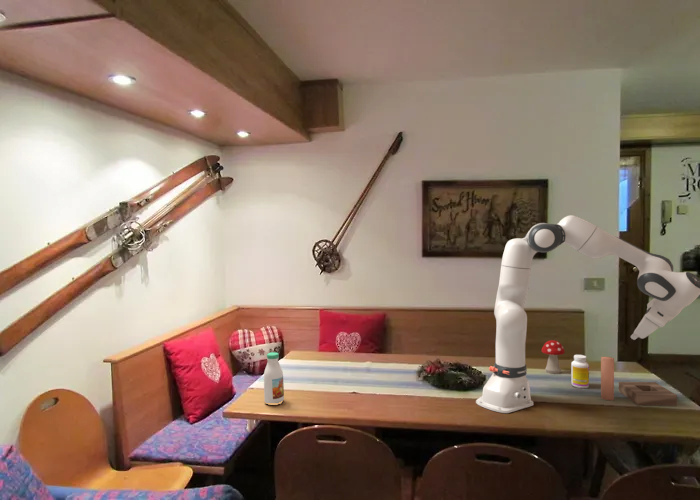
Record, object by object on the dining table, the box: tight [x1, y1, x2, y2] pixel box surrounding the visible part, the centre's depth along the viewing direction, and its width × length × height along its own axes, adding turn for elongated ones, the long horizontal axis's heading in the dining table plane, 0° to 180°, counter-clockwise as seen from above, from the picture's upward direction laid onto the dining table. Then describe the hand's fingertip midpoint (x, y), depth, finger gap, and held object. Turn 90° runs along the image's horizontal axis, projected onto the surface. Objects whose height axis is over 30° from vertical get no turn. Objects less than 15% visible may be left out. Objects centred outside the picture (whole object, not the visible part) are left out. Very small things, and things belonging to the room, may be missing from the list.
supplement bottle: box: [570, 354, 590, 389], centre depth 187 cm, size 7×7×13 cm
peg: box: [600, 356, 615, 402], centre depth 173 cm, size 4×4×16 cm
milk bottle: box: [263, 351, 285, 403], centre depth 177 cm, size 8×8×20 cm
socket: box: [618, 381, 678, 407], centre depth 173 cm, size 14×14×4 cm
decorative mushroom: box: [541, 339, 566, 375], centre depth 205 cm, size 10×9×15 cm
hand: (636, 332), depth 168 cm, fingers open, 8 cm apart
